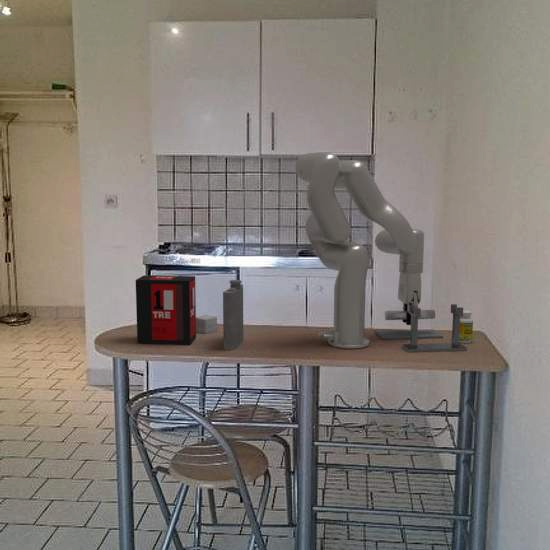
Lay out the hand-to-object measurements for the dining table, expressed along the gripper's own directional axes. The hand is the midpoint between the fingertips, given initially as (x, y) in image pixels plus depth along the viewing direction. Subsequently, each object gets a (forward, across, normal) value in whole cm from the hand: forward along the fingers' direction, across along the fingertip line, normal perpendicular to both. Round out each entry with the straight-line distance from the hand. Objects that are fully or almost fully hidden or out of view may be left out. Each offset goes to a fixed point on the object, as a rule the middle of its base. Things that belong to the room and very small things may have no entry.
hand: (409, 323), depth 209 cm
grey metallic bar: (-3, 0, 0) cm, 3 cm away
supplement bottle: (+4, +9, +15) cm, 18 cm away
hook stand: (+4, +17, +2) cm, 18 cm away
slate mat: (+4, 0, 0) cm, 4 cm away
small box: (+4, -12, -66) cm, 67 cm away
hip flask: (+4, +6, -57) cm, 58 cm away
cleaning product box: (+4, 0, -78) cm, 78 cm away
